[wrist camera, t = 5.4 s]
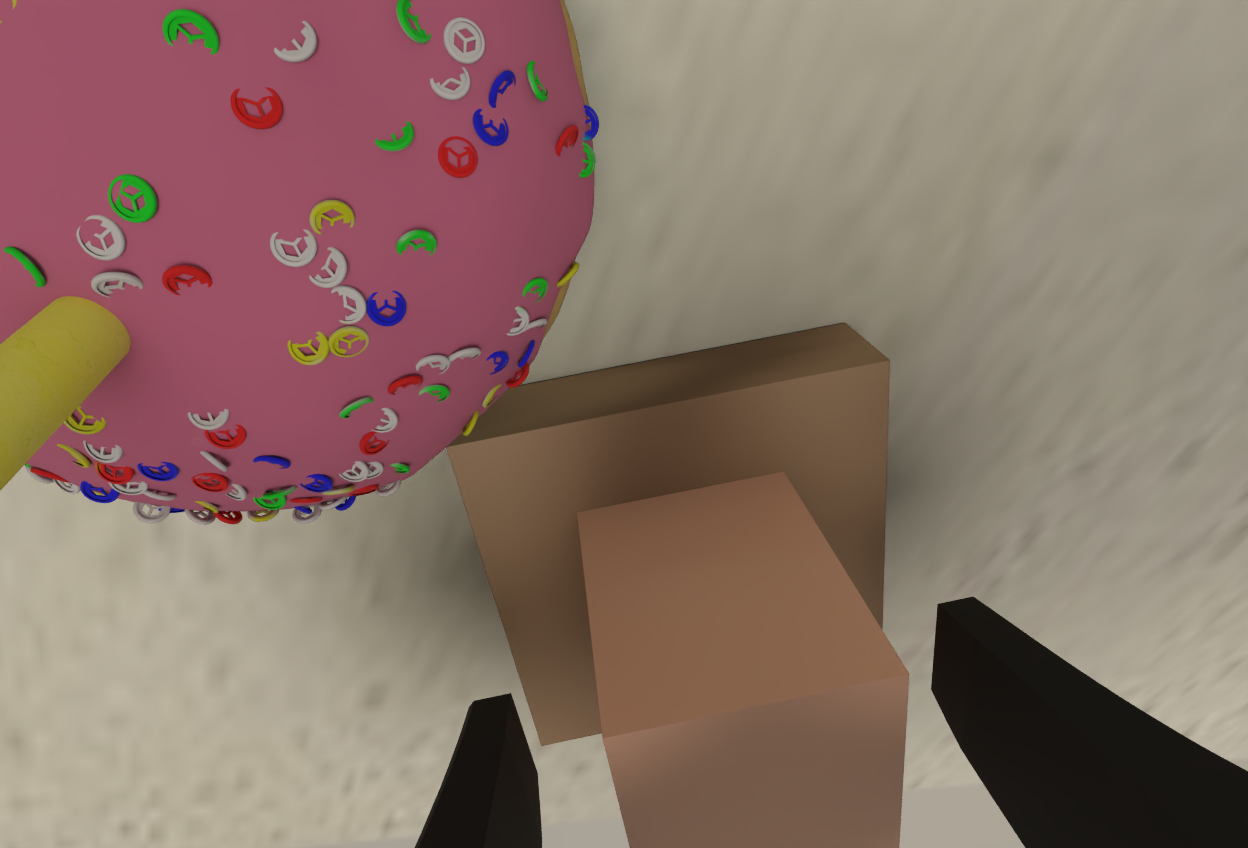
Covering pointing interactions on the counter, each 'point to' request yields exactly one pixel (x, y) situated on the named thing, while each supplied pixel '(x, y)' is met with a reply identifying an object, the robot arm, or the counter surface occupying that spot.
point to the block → (740, 675)
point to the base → (665, 478)
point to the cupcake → (276, 239)
